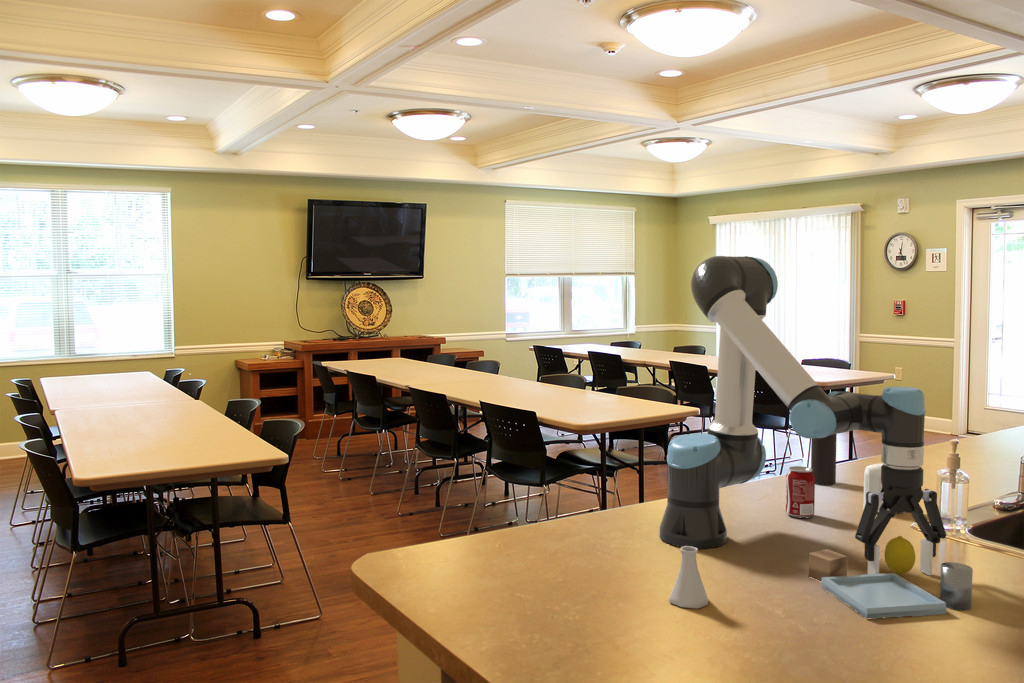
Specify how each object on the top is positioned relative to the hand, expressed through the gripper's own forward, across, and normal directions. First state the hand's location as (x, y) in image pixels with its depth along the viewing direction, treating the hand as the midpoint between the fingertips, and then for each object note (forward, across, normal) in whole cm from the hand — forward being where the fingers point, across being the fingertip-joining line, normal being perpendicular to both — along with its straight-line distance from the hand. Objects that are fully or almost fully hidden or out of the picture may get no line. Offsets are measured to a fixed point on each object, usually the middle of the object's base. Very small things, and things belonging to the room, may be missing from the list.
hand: (899, 574), depth 159 cm
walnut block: (0, -15, +1) cm, 15 cm away
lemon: (0, 0, 0) cm, 0 cm away
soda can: (0, +1, +42) cm, 42 cm away
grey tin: (0, +1, -15) cm, 15 cm away
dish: (0, -11, -11) cm, 15 cm away
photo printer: (0, +24, +42) cm, 48 cm away
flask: (0, -46, -6) cm, 46 cm away
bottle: (0, +24, +72) cm, 76 cm away
